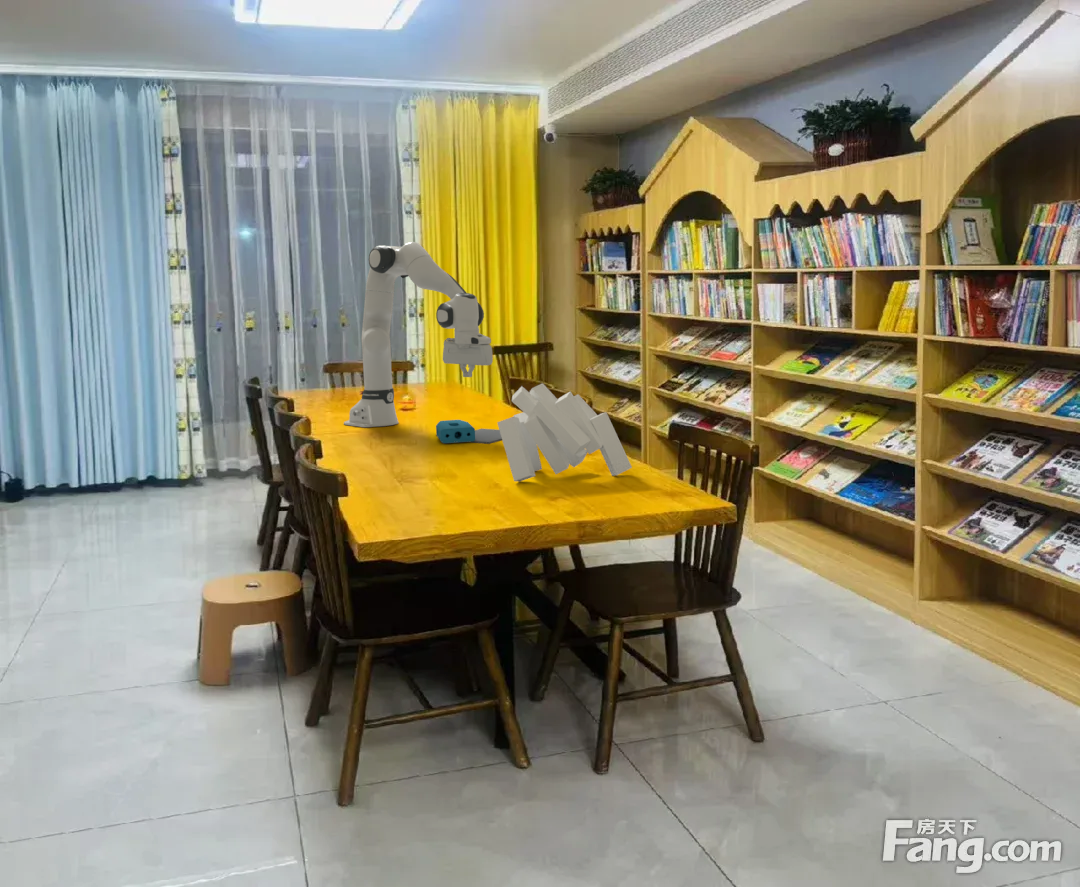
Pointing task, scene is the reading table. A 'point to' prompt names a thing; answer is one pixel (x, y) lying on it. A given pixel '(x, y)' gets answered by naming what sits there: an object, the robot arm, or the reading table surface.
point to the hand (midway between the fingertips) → (467, 376)
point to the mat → (487, 436)
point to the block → (455, 431)
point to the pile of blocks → (557, 434)
